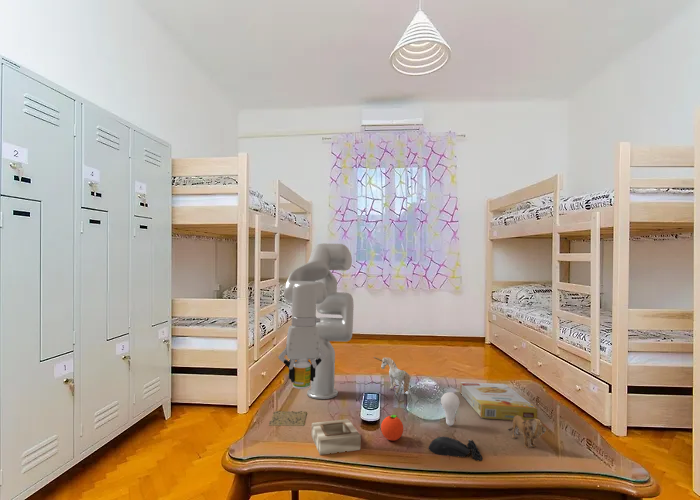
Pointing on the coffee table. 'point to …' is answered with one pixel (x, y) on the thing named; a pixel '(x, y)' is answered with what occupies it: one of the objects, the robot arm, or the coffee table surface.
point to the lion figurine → (527, 429)
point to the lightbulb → (450, 406)
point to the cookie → (288, 418)
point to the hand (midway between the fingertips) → (301, 379)
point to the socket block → (335, 436)
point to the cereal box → (497, 401)
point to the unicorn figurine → (396, 374)
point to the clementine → (392, 428)
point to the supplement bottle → (302, 374)
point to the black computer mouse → (454, 448)
